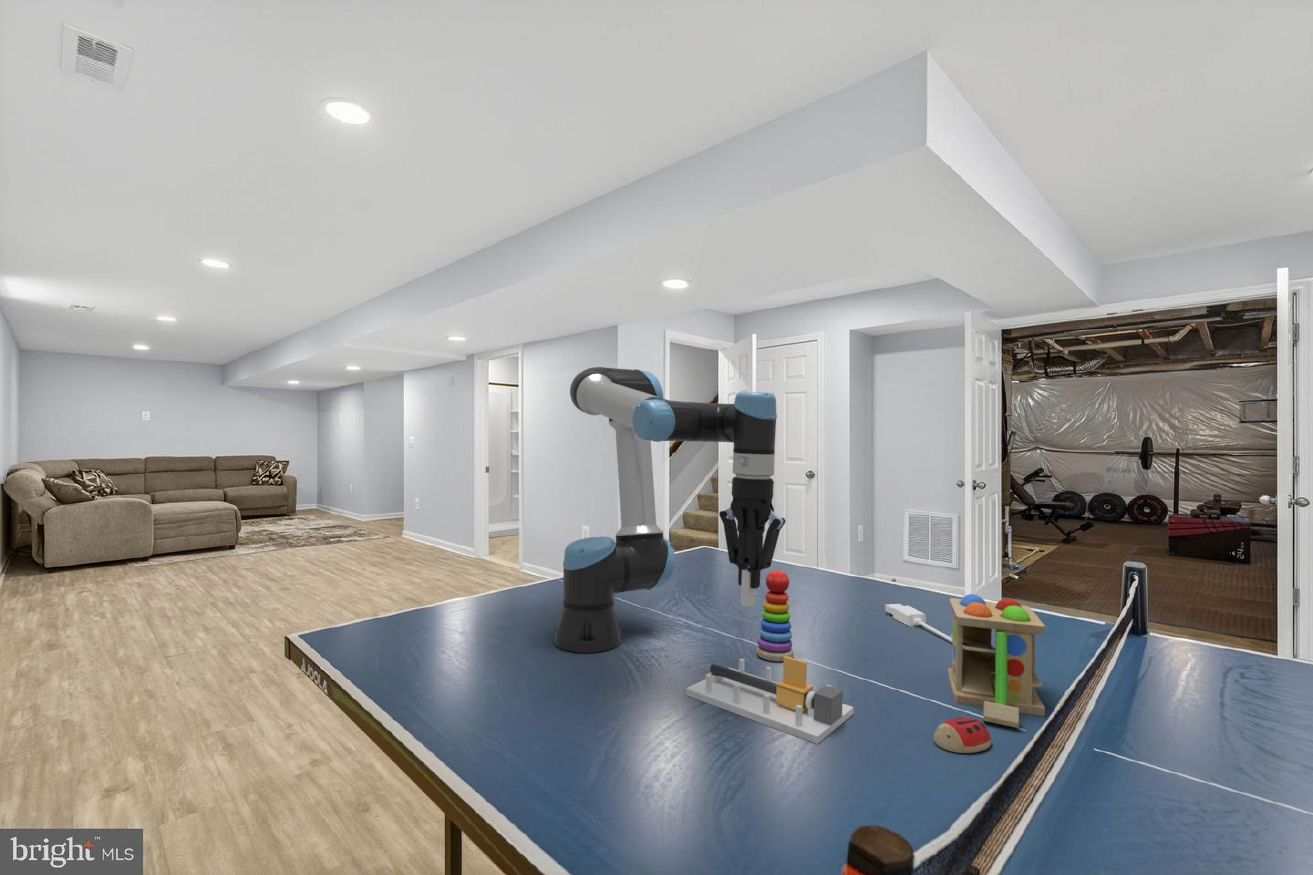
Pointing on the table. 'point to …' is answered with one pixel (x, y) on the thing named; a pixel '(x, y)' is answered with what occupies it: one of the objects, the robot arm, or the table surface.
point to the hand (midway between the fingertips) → (748, 604)
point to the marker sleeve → (793, 684)
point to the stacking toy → (775, 620)
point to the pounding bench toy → (995, 658)
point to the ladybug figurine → (962, 735)
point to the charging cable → (911, 617)
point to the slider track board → (772, 702)
